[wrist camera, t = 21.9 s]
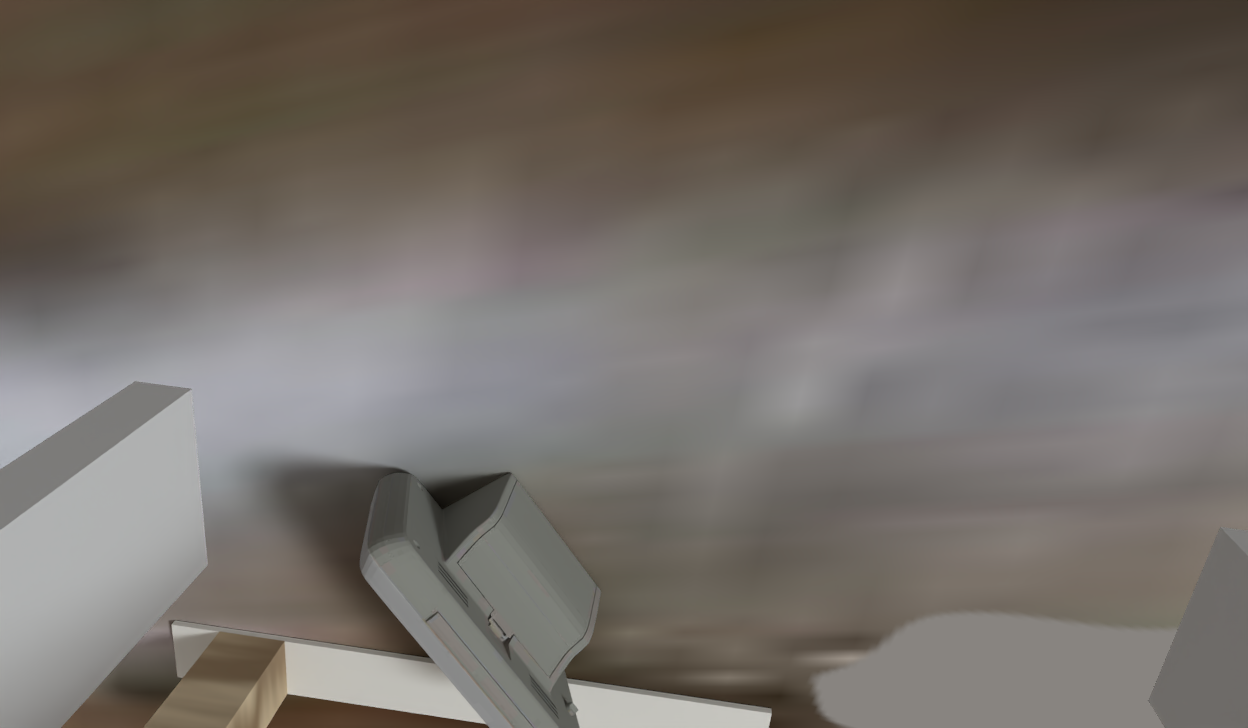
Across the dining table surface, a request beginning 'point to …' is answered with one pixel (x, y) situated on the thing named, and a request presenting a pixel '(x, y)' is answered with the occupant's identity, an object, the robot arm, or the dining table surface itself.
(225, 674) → the tan wooden block
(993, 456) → the dining table surface
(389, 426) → the dining table surface
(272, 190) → the dining table surface
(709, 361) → the dining table surface
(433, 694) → the lath
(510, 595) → the digital clock
